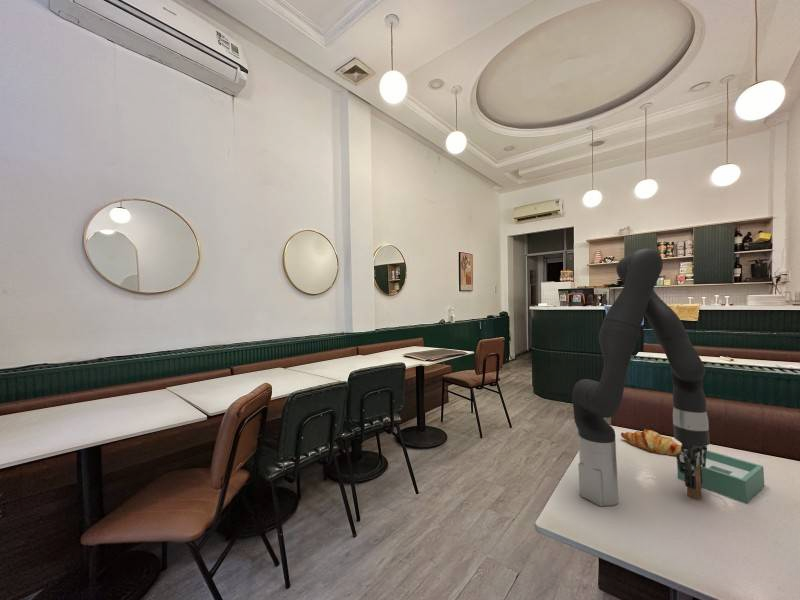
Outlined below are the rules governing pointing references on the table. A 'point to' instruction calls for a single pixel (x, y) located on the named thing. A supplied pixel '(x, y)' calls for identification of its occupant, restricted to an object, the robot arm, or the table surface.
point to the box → (731, 476)
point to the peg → (696, 492)
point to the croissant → (652, 442)
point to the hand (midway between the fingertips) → (693, 485)
